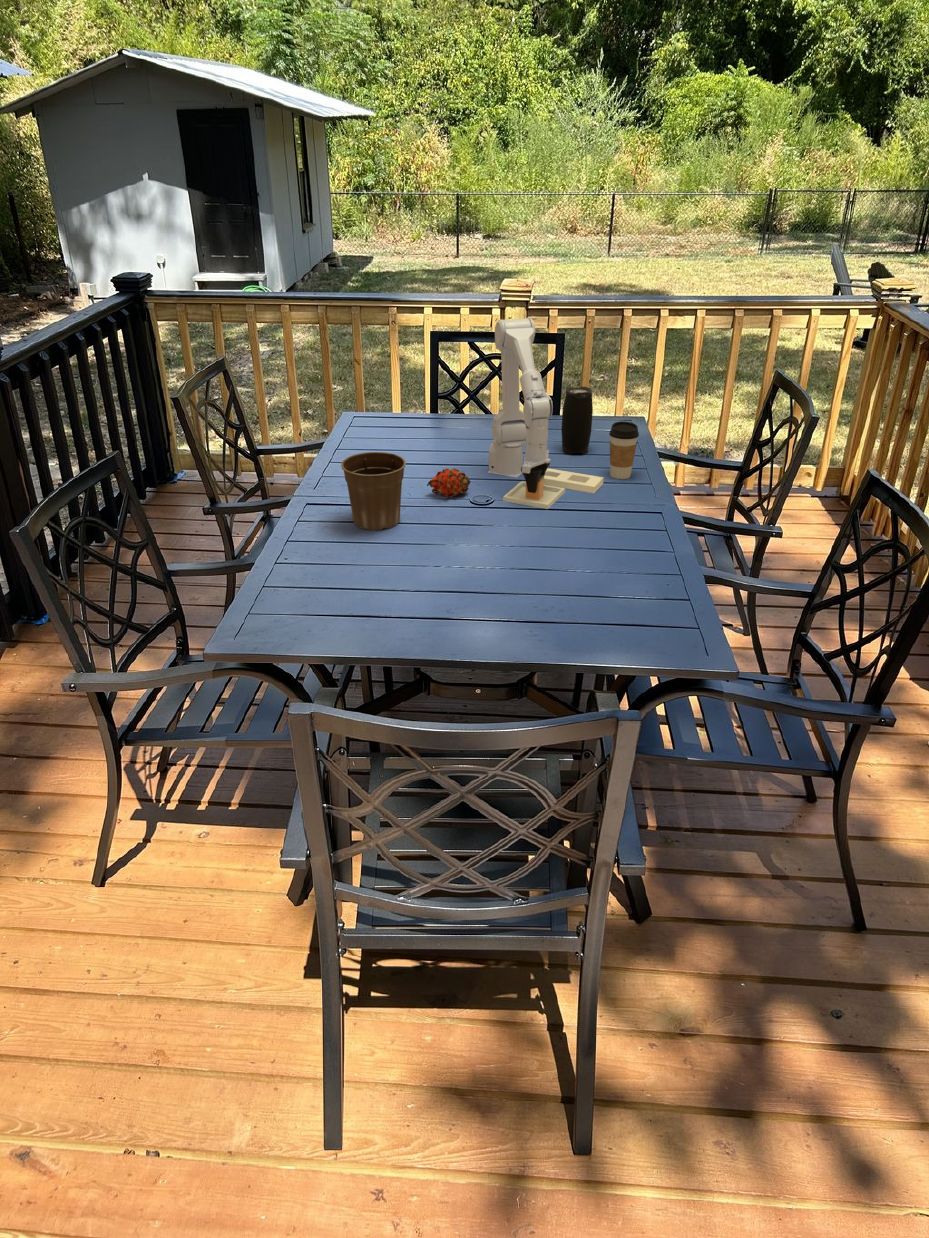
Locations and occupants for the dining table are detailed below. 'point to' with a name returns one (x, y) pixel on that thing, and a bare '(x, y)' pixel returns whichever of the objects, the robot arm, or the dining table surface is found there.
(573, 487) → the power strip
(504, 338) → the robot arm
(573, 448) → the portable speaker
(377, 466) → the plant pot
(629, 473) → the coffee cup
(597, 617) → the dining table surface
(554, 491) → the tray
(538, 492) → the plug
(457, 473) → the red lumpy ovoid
